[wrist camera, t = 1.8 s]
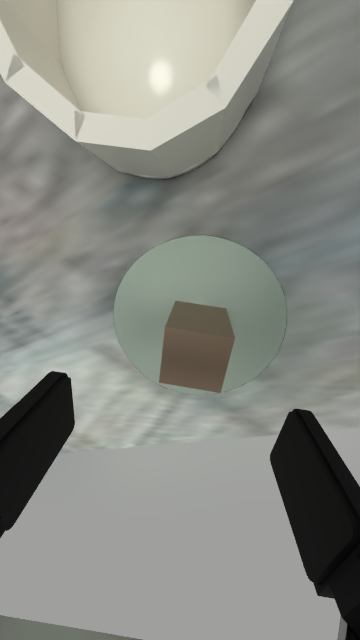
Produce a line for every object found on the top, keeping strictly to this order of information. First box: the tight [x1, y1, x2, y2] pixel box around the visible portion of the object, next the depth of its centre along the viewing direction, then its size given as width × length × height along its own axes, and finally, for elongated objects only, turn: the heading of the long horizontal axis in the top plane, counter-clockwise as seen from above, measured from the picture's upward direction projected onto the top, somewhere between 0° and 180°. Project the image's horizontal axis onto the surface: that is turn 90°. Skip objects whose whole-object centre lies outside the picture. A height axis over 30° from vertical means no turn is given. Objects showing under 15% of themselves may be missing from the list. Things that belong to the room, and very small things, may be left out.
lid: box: [114, 235, 287, 395], centre depth 16 cm, size 14×14×6 cm
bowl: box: [0, 0, 293, 179], centre depth 9 cm, size 12×12×6 cm
